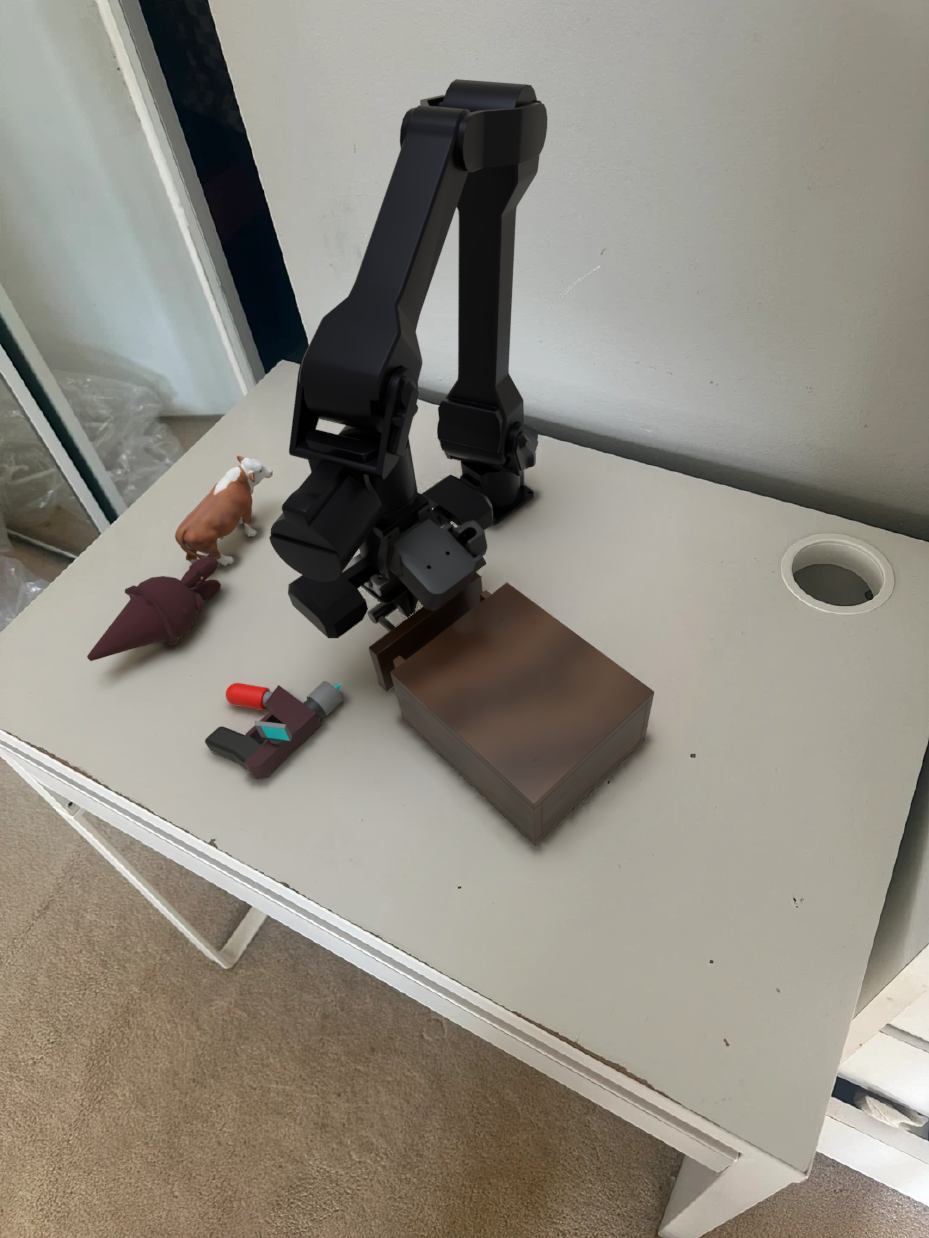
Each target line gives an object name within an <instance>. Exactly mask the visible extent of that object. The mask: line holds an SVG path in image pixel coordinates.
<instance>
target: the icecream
mask: <svg viewBox="0 0 929 1238" xmlns="http://www.w3.org/2000/svg"><path fill="white" fill-rule="evenodd" d="M218 566H219V561H217V560H216V559H214V558H210V557H203V558H200V559H199V558H198V560H197V561H195V562H194V563H193V564H191V565H189V567H188V568H189V569H188V570H187V571H186V572H185V573H184V574H183V576H182V577H181V579H179V578H177V577H174V576H173V577H172V576H164V575H162V576H161V575H159V576H151V577H149V578H147V579H145V580H143V581H141V582H139V583H138V584H137V585H131V586H129V587H127V588H125V589H124V594H126V595H127V596H128V597H129V601H128V602H127V603H126V604H125V606H124V607H123V608H122V610H121V611H120V612H119V614H118V615H117V616H116V618H115V619H114V620H113V621H112V623H111V624H110V625H109V626H108V628H107V629H106V631H104V633H103V634H102V635H101V637H100V638H99V639H98V641H97V642H96V643H95V645H94V646H93V647H92V649H91V650H90V651H89V652H88V654H87V656H86V657H87V660H88V661H90V662H93V661H96V660H101V659H103V658H107V657H111V656H113V655H114V656H115V655H117V654H120V653H124V652H127V651H131V650H134V649H137V648H141V647H145V646H149V645H151V644H155V643H159V642H162V641H164V642H165V643H166V644H167V645H170V646H175V645H176V644H178V643H179V638H182V637H183V636H184V635H185V634H187V633H188V632H190V631H192V629H193V627H194V623H195V621H196V618H197V614H198V613H201V612H202V610H203V609H204V606H205V605H204V602H205V601H208V600H210V599H211V598H212V597H214V596H215V595H216V594H217V593H218V592H219V591H220V590H221V587H222V584H221V582H220V581H219V580H218V579H212V578H210V577H211V576H212V575H214V574H215V572H216V571H217V570H218ZM208 578H210V579H208Z"/></svg>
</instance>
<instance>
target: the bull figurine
mask: <svg viewBox="0 0 929 1238" xmlns="http://www.w3.org/2000/svg"><path fill="white" fill-rule="evenodd" d="M236 459H237V461H238V462H239V463H240V464H239V465H237V466H235V467H232V468H230V469H228V470H227V471H226V473H225V474H224V476H223V477H222V478H221V479H220V480H219V481H217V482H216V483H215V484H214V485H213V487H212V489H211V490H210V491H209V492H208V494H206V495H205V497H204V498H203V499H202V500H201V501H200V502H199V503H198V504H197V505H196V507H195V508H194V509H193V510H192V511H190V512H189V513H188V515H186V516H185V518H183V520H182V522H180V524H179V525H178V527H177V529H176V531H175V533H174V539H175V540H176V542H177V544H178V545H179V546H180V548H181V550H182V551H183V552H185V553H186V555H185V560H186V561H188V562H189V563H190V564H191V565H192V564H193V563H194V562H195V561H197V560H199V559H200V558H203V557H210V558H214V559H216V560H217V561H218V563H220V564H221V565H222V566H225V567H226V566H228V565H232V564H234V563H235V561H236V559H235V557H233V556H230V555H224V554H223V553H221V552H220V551H219V548H218V540H219V539H220V540H223V539H224V538H225V537H227V536H229V535H230V534H231V533H233V532H234V531H235V529H236V528H237V527H238V525H242V524H243V525H244V528H245V531H244V534H245V535H247V537H249V538H250V537H256V536H257V535H258V531H257V530H256V529H254V528H253V527H252V521H253V520H252V515H253V496H252V495H253V493H254V489H255V487H256V486H257V485H259V484H260V483H261V482H262V480H264V479H271V478H272V476H273V472H274V471H273V468H272V467H271V466H270V465H266V464H264V463H263V462H261V461H260V460H258V459H256V458H250V457H243V456H242V455H237V456H236ZM198 552H199V553H201V554H199V553H198Z"/></svg>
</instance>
